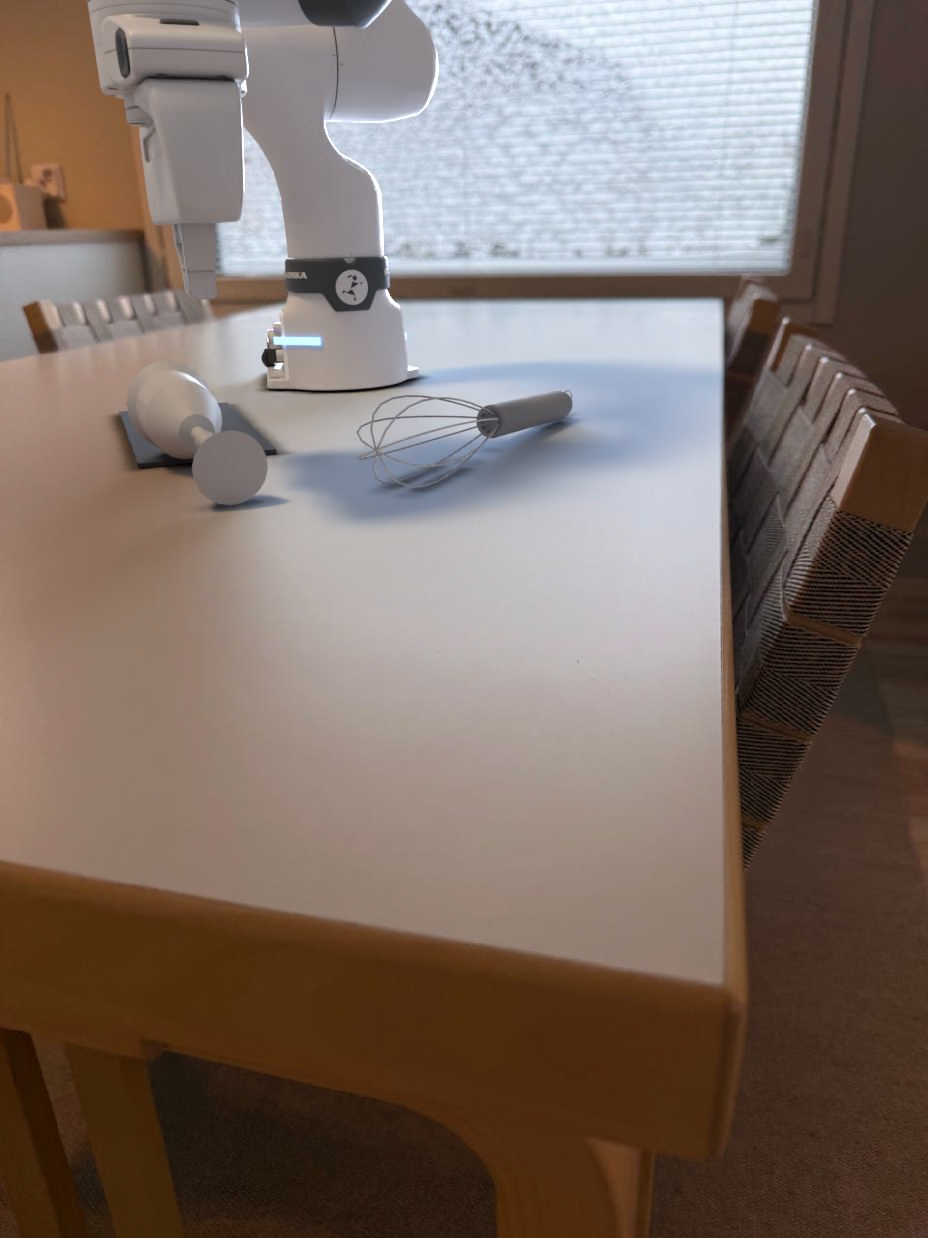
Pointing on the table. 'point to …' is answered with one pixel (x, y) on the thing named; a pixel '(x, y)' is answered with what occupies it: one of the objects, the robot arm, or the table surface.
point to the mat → (155, 457)
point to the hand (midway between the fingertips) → (201, 298)
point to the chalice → (195, 431)
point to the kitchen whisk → (480, 424)
